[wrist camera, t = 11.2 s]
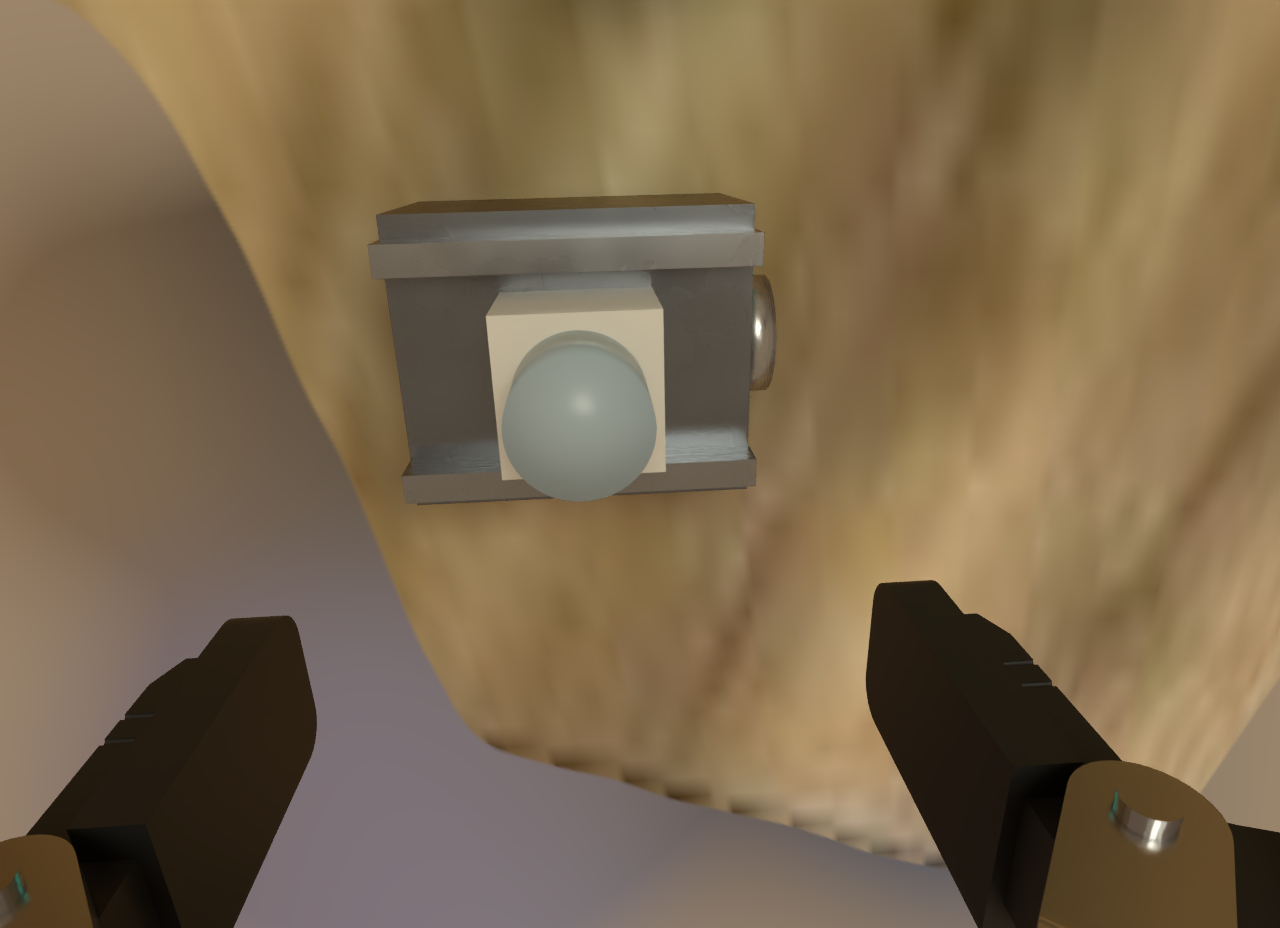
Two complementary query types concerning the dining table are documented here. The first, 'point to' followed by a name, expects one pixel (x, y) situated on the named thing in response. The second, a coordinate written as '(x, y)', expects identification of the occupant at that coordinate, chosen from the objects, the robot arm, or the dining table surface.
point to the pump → (578, 388)
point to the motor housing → (567, 260)
